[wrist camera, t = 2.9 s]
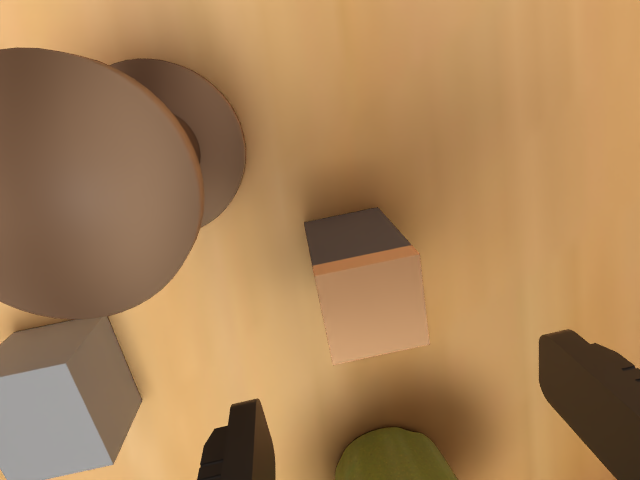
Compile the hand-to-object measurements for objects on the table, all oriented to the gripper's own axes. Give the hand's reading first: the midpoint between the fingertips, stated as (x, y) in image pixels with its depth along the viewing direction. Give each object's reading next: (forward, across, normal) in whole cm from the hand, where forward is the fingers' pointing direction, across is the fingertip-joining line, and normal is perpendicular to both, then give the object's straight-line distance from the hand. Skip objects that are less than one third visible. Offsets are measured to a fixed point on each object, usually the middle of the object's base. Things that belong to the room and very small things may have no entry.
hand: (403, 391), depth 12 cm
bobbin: (+12, +8, -7) cm, 16 cm away
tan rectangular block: (+12, 0, 0) cm, 12 cm away
